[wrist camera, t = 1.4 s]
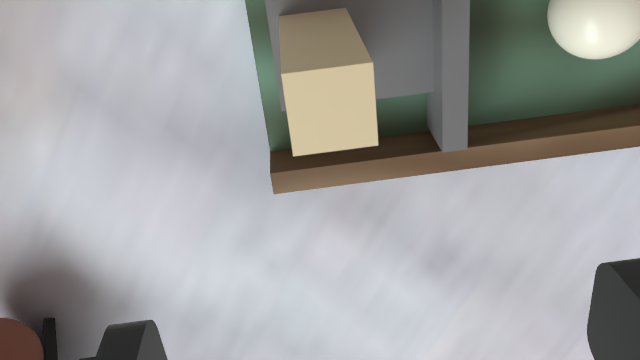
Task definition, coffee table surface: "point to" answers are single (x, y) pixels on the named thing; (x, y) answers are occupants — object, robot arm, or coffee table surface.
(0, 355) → the character figurine
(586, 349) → the coffee table surface
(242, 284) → the coffee table surface
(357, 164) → the channel
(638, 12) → the ball
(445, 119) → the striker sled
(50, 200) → the coffee table surface
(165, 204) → the coffee table surface
